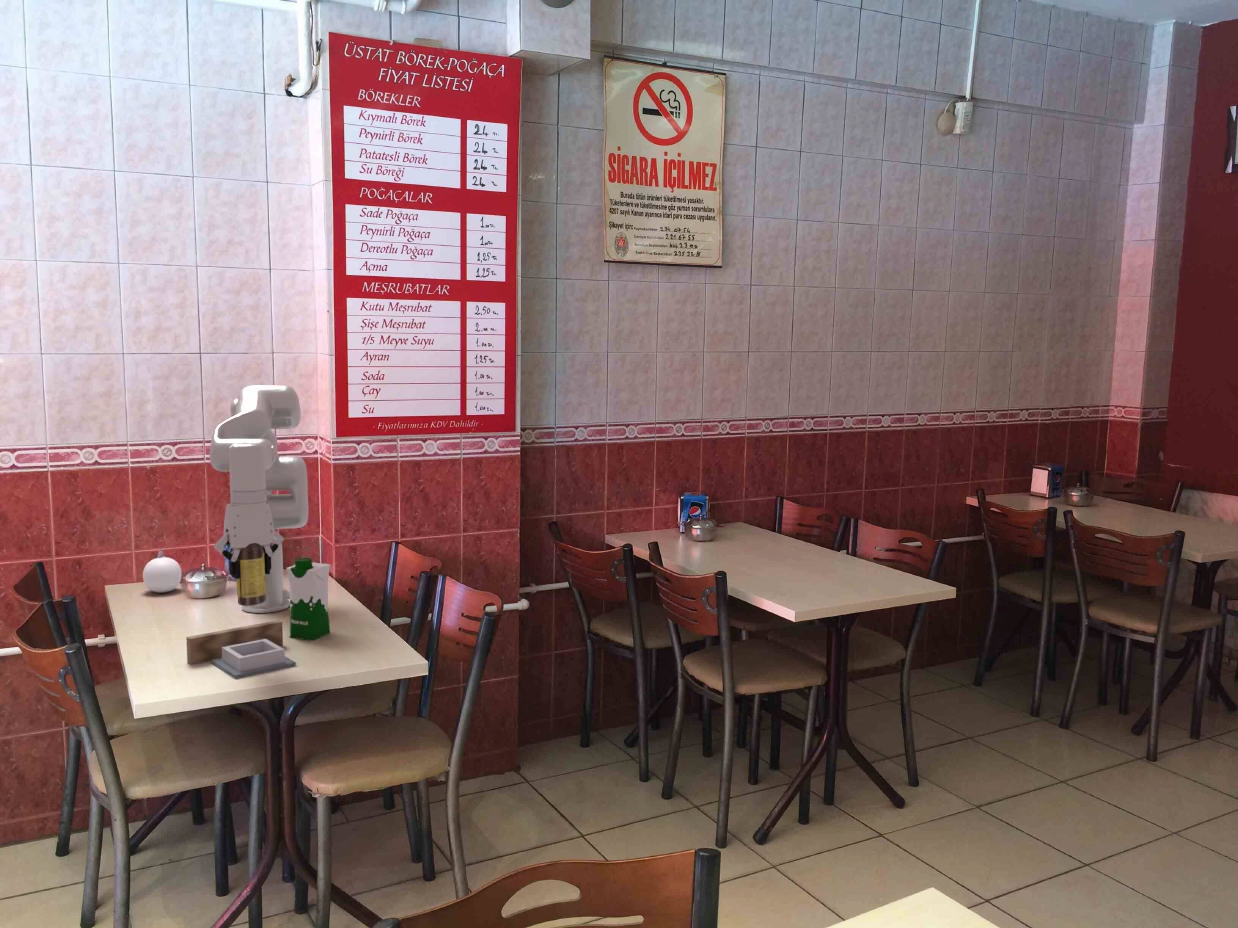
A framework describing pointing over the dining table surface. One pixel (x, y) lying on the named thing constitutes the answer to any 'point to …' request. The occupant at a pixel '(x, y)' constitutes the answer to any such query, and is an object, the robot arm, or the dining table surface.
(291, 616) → the milk carton
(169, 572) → the ornament
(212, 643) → the walnut wall
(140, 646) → the dining table surface
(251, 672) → the holder
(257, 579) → the sauce bottle
